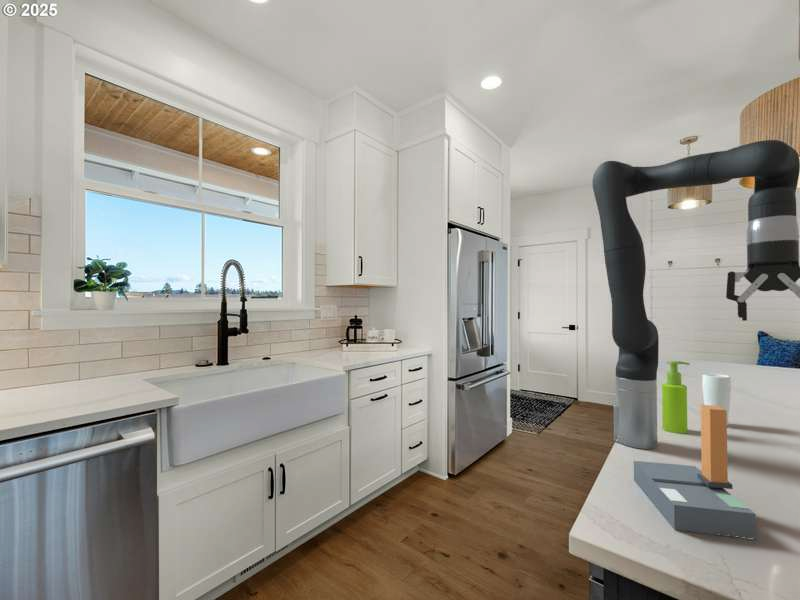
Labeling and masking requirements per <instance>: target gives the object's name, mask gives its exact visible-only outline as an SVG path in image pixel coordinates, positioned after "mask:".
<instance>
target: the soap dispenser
mask: <svg viewBox="0 0 800 600" xmlns="http://www.w3.org/2000/svg"><path fill="white" fill-rule="evenodd" d="M666 363H667V365H670V366H669V367H670V371H668V372H666V382H664V383H661V399H662V400H661V409H662V410H661V411H662V413H661V418H662V419H661V421H662V422H661V423H662V428H661V429H662V430H663V431H666V432H668V433H669V432H670V433H674V434H687V433H688V388H687V387H688V386H687V385H685V384H682V373H681V372H680V371H678V369H679V368H678V365H687V366H689V365H690V363H689V362H684V361H681V360H670V361H667V362H666Z"/></svg>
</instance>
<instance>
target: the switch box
mask: <svg viewBox="0 0 800 600" xmlns="http://www.w3.org/2000/svg"><path fill="white" fill-rule="evenodd" d="M697 473H699V474H702V469H700V468H699V467H697V466H696V465H688V464H675V463H664V462H652V461H640V460H633V481H634V482H635V484H636V485H637V486H638V487H639V488H640V489H641V491H642V492H643V493H644V494H645V495H646V497H647V498H648V499H649V501H650V502H651V503H652V504H653V505H654V507H655V508H656V509H657V510H658V511H659V513H660V514H661V515H662V517H663V518H664V519H665V520H666V521H667V522H668V523H669V525H670V526H671V528H672V529H673V528H674V529H673V530H674V531H680V530H682V531H681V532H688V531H690V532H689V533H697V532H698V534H705V533H708V534H707V535H713V534H718V535H717V536H721V535H727V536H726V537H729V536H738V537H745V538H744V539H746V538H754V539H756V536H757V535H756V512H754V511H753V510H751V509H750V508H749V507H748V506H746V505H745V504H744V503H742V502H741V501H740V500H739V499H738V498H736V497H735V496H733V495H732V494H731V493H729V491H727V489H726V488H716V487H708V486H707V485H706V484H704V483H703V482H702V481H701V480H700V479H698V478H697ZM675 529H676V530H675ZM699 532H700V533H699ZM719 534H720V535H719ZM728 535H729V536H728ZM754 539H753V540H754ZM756 540H757V539H756Z"/></svg>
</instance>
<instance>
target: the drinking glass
mask: <svg viewBox="0 0 800 600" xmlns="http://www.w3.org/2000/svg"><path fill="white" fill-rule="evenodd" d="M731 382H732V381H731V376H730V375H728V374H727V375H726V374H720V373H702V377H701V386H702V387H701V388H702V397H703V405H714V406H719V407H721V408H723V409H725V410H727V427H728V426H729V412H730V403H731V391H732V383H731Z"/></svg>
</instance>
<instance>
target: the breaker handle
mask: <svg viewBox="0 0 800 600" xmlns="http://www.w3.org/2000/svg"><path fill="white" fill-rule="evenodd" d="M700 438H701V441H700V442H701V449H700V451H701V452H700V453H701V471H702V474H699V473H697V478H698V479H700V480H701V481H702V482H703V483H704V484H706V485H707V486H708V487H716V488H723V489H725V490H733V483H731V482H730V481H728V474H729V473H728V426H727V410H725V409H723V408H721V407H719V406H714V405H704V404H701V405H700Z"/></svg>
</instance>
